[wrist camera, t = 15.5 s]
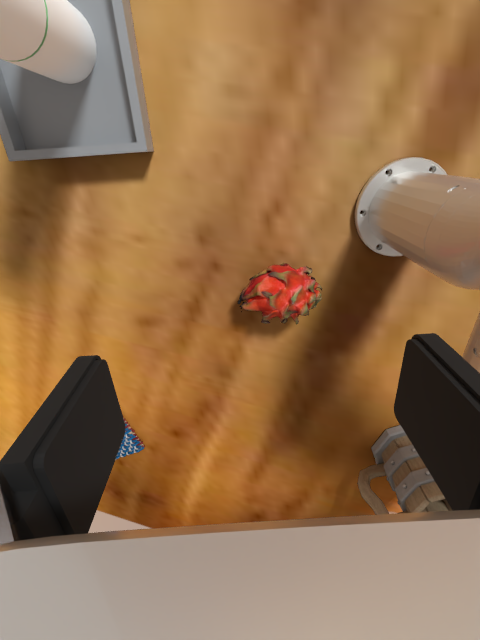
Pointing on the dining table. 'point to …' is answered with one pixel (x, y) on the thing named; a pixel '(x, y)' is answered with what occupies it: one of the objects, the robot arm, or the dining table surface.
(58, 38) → the cylindrical container
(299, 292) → the dragon fruit
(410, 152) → the dining table surface
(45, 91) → the tray
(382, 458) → the tankard
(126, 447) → the woven mat
